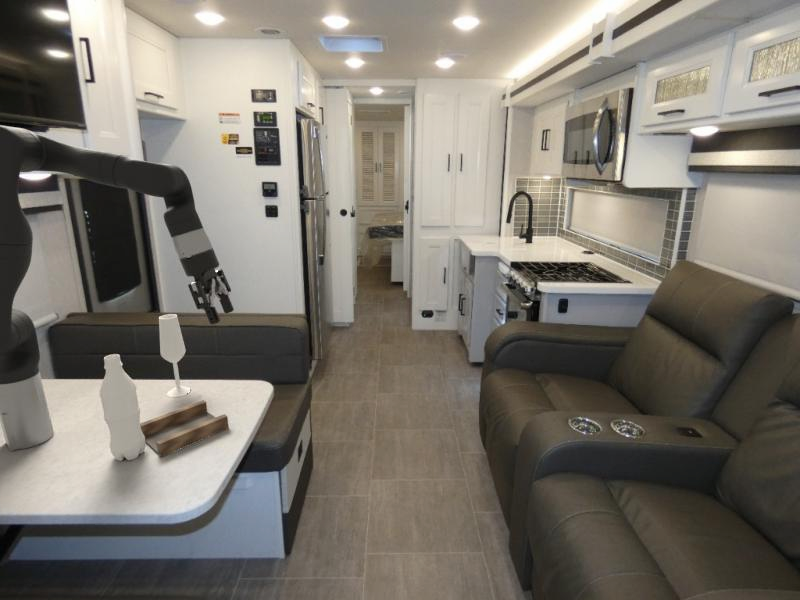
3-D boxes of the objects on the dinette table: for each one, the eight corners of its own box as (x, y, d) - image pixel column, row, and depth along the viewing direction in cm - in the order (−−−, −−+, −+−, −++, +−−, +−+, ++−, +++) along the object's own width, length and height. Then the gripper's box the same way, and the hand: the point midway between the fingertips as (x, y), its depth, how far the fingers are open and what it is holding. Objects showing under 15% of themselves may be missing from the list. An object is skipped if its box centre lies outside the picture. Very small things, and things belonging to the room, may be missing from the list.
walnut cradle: (161, 457, 110) (159, 444, 109) (139, 436, 118) (137, 424, 117) (228, 428, 122) (227, 416, 121) (204, 411, 131) (203, 400, 130)
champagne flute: (189, 385, 147) (179, 311, 140) (192, 393, 141) (181, 317, 134) (166, 390, 143) (154, 315, 137) (168, 399, 138) (155, 321, 131)
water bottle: (132, 465, 107) (113, 364, 100) (105, 462, 108) (84, 361, 101) (154, 448, 114) (137, 351, 107) (128, 444, 115) (110, 349, 108)
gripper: (194, 251, 114) (220, 313, 118) (164, 262, 100) (195, 331, 104) (222, 242, 113) (247, 305, 117) (197, 252, 99) (226, 322, 103)
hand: (223, 317), depth 110 cm, fingers open, 8 cm apart
